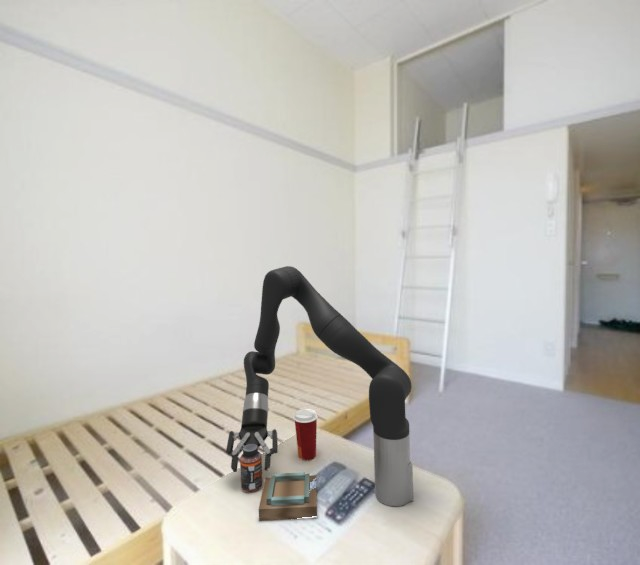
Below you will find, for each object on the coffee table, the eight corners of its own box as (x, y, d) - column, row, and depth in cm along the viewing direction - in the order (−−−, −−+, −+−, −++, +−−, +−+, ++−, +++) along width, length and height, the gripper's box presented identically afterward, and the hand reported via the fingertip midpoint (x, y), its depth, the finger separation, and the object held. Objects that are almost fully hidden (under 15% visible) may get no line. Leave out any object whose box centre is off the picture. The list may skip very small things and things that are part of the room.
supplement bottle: (258, 494, 92) (256, 454, 91) (237, 492, 93) (235, 452, 93) (266, 480, 98) (264, 442, 97) (246, 478, 99) (244, 440, 98)
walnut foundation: (316, 485, 95) (316, 470, 95) (317, 518, 83) (316, 500, 83) (266, 488, 95) (265, 472, 94) (259, 521, 83) (258, 503, 82)
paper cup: (323, 452, 111) (322, 410, 110) (310, 465, 104) (308, 420, 103) (303, 446, 115) (302, 405, 114) (290, 458, 109) (288, 415, 108)
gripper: (229, 408, 102) (221, 468, 91) (277, 405, 102) (274, 466, 91) (234, 417, 107) (227, 475, 97) (280, 415, 108) (277, 472, 97)
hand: (250, 470), depth 94 cm, fingers open, 8 cm apart
